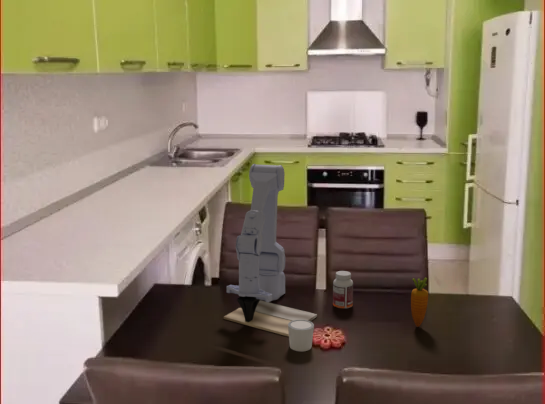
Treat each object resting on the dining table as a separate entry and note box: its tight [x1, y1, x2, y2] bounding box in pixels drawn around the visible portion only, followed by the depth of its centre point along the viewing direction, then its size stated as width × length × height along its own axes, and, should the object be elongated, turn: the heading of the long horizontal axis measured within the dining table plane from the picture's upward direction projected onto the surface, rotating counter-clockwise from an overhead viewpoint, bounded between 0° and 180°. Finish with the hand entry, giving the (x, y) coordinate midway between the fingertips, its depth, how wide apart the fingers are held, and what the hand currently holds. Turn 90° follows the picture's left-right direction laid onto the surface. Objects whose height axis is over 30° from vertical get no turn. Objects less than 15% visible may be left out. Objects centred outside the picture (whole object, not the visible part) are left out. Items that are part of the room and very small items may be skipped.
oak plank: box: [223, 307, 291, 337], centre depth 176 cm, size 8×22×2 cm, turn 57°
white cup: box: [288, 320, 315, 352], centre depth 160 cm, size 7×7×7 cm
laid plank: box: [255, 300, 318, 322], centre depth 183 cm, size 8×22×2 cm, turn 57°
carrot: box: [410, 277, 429, 328], centre depth 174 cm, size 5×5×15 cm
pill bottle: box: [332, 270, 354, 309], centre depth 189 cm, size 6×6×11 cm
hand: (248, 320), depth 176 cm, fingers closed, pressing on oak plank
